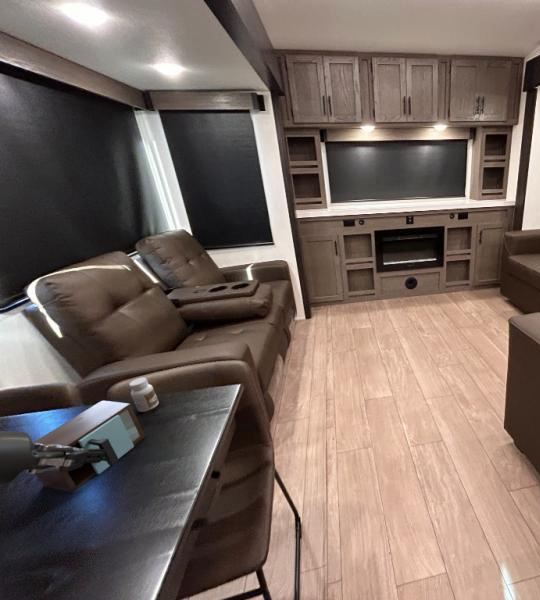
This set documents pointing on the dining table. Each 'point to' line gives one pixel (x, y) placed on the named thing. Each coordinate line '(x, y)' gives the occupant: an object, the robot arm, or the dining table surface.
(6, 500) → the dining table surface
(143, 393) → the pill bottle
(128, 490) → the dining table surface
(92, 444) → the glass door
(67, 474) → the cabinet
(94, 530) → the dining table surface
